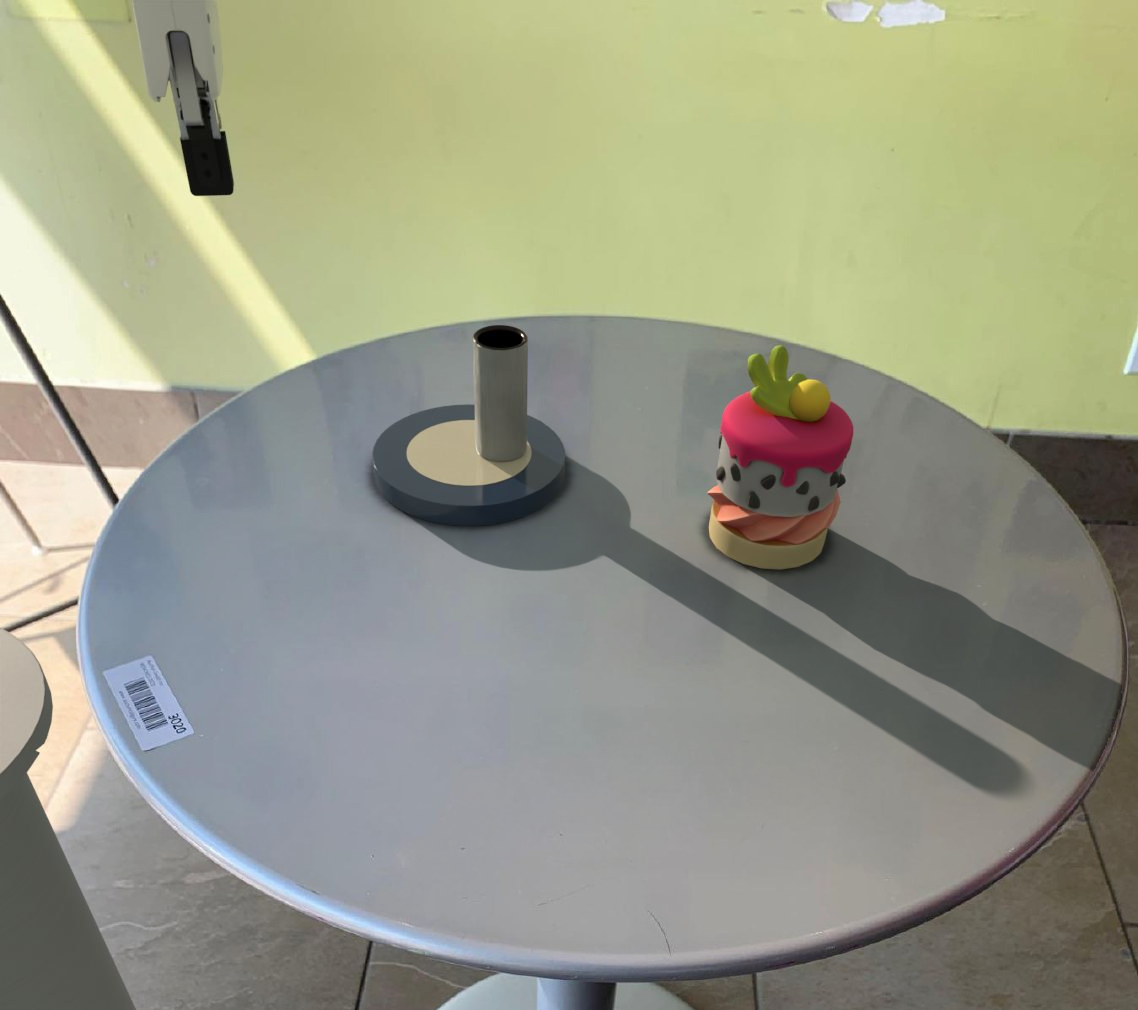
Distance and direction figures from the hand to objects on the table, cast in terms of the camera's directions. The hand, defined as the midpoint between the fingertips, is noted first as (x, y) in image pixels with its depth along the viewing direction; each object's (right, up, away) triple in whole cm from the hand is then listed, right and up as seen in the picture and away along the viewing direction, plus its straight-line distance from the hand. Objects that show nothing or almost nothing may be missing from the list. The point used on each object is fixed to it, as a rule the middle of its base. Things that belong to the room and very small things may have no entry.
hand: (213, 191), depth 85 cm
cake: (+44, -25, +9) cm, 51 cm away
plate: (+19, -18, +14) cm, 29 cm away
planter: (+21, -16, +13) cm, 30 cm away
